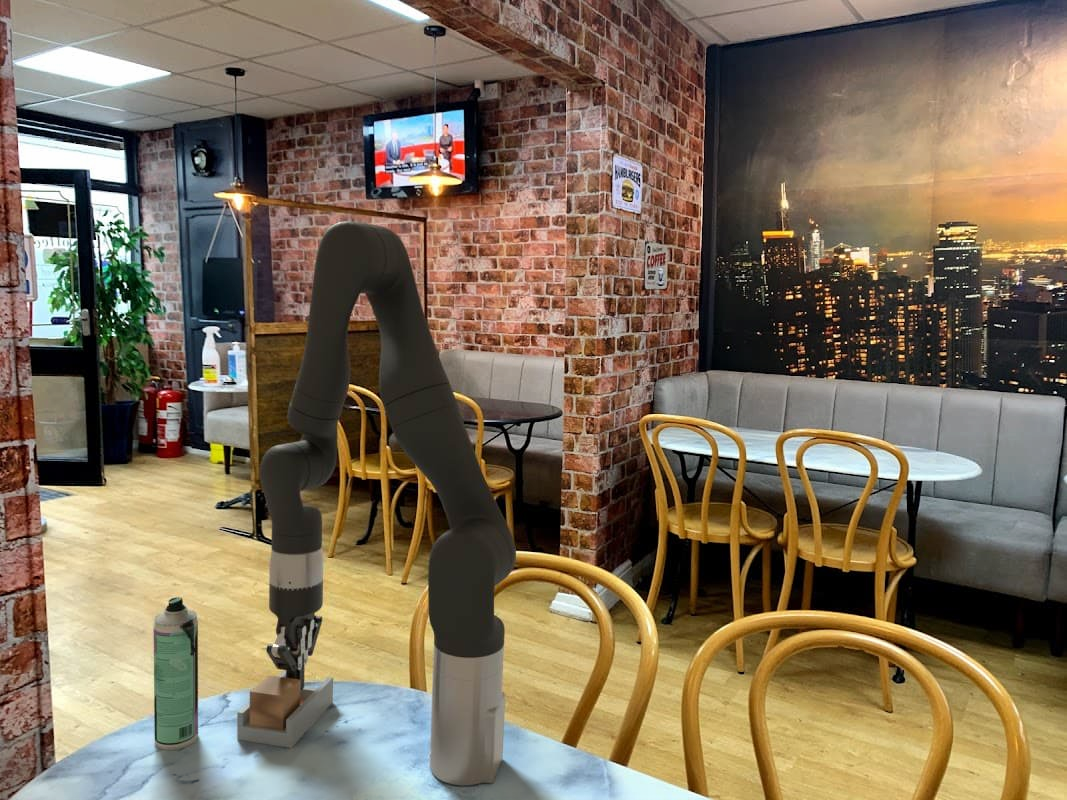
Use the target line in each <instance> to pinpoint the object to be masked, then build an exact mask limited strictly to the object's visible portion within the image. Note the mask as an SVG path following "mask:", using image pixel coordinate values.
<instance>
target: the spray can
mask: <svg viewBox="0 0 1067 800" xmlns="http://www.w3.org/2000/svg"><path fill="white" fill-rule="evenodd" d="M198 627H199V619H198V614H197V612H196V611H194V610H192V609H188V606H187V605H185V604H184V600H183V597H180V596H179V597H172V598H170V599H169V600H168V605H167V606H166V607H165V608H164V611H162V612H161V613H159V614H157V615H156V616H154V622H153V694H154V695H153V697H154V698H153V704H154V705H153V706H154V710H153V712H154V713H153V714H154V721H153V723H154V745H155V746H156V747H157V748H159V749H161V750H165V751H166V750H167V751H173V750H179V749H183V748H185V747H188V746H190V745H192V744H193V743H195V742H196V741H197V740H198V737H199V644H198V643H199V630H198V629H199V628H198Z"/></svg>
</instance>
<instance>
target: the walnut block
mask: <svg viewBox="0 0 1067 800" xmlns="http://www.w3.org/2000/svg"><path fill="white" fill-rule="evenodd" d="M300 691H301V680H299V679H292V678H285V677H278V675H277V676H276V675H269V674H268V675H267V676H266V677H265V678H263V679H262V680H261V681H260V682H259V683H258V684H256V685H255V686H254V687H253V688H252V689H251V690H250V691H249V702H250V726H255V727H261V728H268V729H274V730H281V731H283V730H284V729H285V728H286V719H287V718H288V717H289V716H290V715H291V714H292V713H293V712H294V711H295V710H296V709H297V708H298V707H299V706H300Z"/></svg>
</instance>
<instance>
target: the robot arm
mask: <svg viewBox="0 0 1067 800" xmlns="http://www.w3.org/2000/svg"><path fill="white" fill-rule="evenodd" d="M406 248H407V247H405V244H404V242H403V240H402V239H401V238H400V237H399V235H398V234H397V233H395V231H393V230H391V229H390V228H388V227H385V226H382V225H377V224H370V223H363V222H357V221H352V220H351V221H349V220H347V221H340V222H336V223H335V224H333V225H331V226H329V228H328V229H327V230H325V232H324V234H323V236H322V237H321V239H320V242H319V246H318V249H317V253H316V257H315V264H314V270H313V280H312V289H311V298H310V302H309V303H310V305H309V312H308V323H307V331H306V338H305V344H304V351H303V355H302V360H301V364H300V369H299V372H298V375H297V378H296V382H295V385H294V388H293V392H292V395H291V398H290V402H289V405H288V409H287V415H286V416H287V422H288V424H289V425H290V427H291V428H293V430H295V431H297V432H299V433H301V434H302V435H301V438H300V440H299V441H294V442H289V443H287V442H286V443H282V444H276V445H274V446H271V447H270V448H269V449H268V450H267V451H266V452H265V453H264V455H263V456H262V458H261V462H260V464H259V465H260V467H259V480H260V484H261V487H262V492H263V494H264V495H263V496H264V498H265V502H266V506H267V510H268V513H269V516H270V517H269V518H270V521H271V550H270V558H269V576H268V577H269V580H268V583H269V586H268V587H269V589H268V590H269V592H268V593H269V595H268V607H269V611H270V612H271V613H272V614H273V615H275V616H276V618H277V622H276V627H275V628H276V629H275V634H276V636H277V637H276V639H275V640H274V641H275V642H274V643H273V644H272V643H268V644H267V647H266V651H265V652H266V653H267V655H268V657H269V658H270V660H271V661H272V663H273V665H274V666H275V668H276V669H277V670H283V671H286V678H292V679H299V680H301V690H302V689H303V688H304V686H305V666H306V665H307V664H308V659H309V658H308V657H311V656H313V653H314V651H315V647H316V643H317V640H318V637H319V634H320V631H321V626H322V623H323V617H322V616H320V615H315V614H316V613H318V611H320V610H321V609H322V608H323V606H324V605H323V603H324V598H323V597H324V555H323V516H322V512H321V510H320V509H319V508H318V507H316V506H314V505H311V504H304V503H303V500H302V496H301V492H302V491H305V490H311V489H315V488H319V487H320V486H323V485H324V484H326V483H327V482H328V481H329V479H330V478H331V476H332V475H333V473H334V471H335V468H336V463H337V458H338V457H337V455H338V422H339V420H340V417H341V414H342V411H343V408H344V405H345V401H346V398H347V395H348V392H349V387H350V383H351V382H350V381H351V362H350V361H351V360H350V353H349V344H348V332H349V324H350V321H351V316H352V313H353V310H354V308H355V305H356V303H357V301H358V299H359V297H360V294H362V295H365V296H366V298H367V301H368V302H369V303H368V304H369V305H370V307H371V310H372V313H373V315H374V319H375V321H376V323H377V327H378V330H379V337H380V344H381V345H380V357H379V358H380V360H379V372H378V373H379V376H378V382H379V383H378V386H379V394H380V399H381V402H382V406H383V409H384V411H385V414H386V417H387V419H388V422H389V424H390V427H391V430H392V433H393V435H394V438H395V439H396V441H397V443H398V445H399V447H400V448H401V449H402V450H403V452H404V453H405V455H406V456H407V457H408V458H409V459H410V461H411V462H412V463H413V465H415V467H417V469H418V470H419V471H420V472H421V473H422V474H423V475H424V476H425V478H426V479H427V480H428V482H429V483H430V484H431V486H432V487H433V488H434V490H435V491H436V494H437V496H438V498H439V500H440V501H441V504H442V508H443V510H444V512H445V515H446V520H447V522H448V526H449V528H450V529H449V530H446V532H444V533H442V534H441V535H440V536H439V537H438V538H437V539H436V540H435V542H434V543H433V545H432V547H431V550H430V553H429V554H430V555H429V559H428V567H427V570H428V572H427V573H428V575H427V583H428V584H427V585H428V586H427V591H428V593H427V595H428V619H429V623H430V626H431V629H432V631H433V659H432V662H433V663H432V683H431V684H432V688H431V689H432V691H431V714H430V715H431V717H430V721H431V722H430V746H429V747H430V750H429V769H430V772H431V774H432V775H434V777H435V778H437V779H438V780H439V781H442V782H444V783H446V784H450V785H456V786H472V785H474V786H475V785H479V784H482V783H488V784H493V782H494V781H495V778H496V775H497V774H498V771H499V768H500V766H501V763H502V761H503V758H504V757H503V756H504V734H505V714H506V692H504V691H503V673H504V655H505V654H504V651H505V637H506V634H505V633H506V631H505V625H504V622H503V620H502V619H501V617H499V616H498V615H495V588H496V586H498V585H499V584H500V583H502V582H503V581H504V580H505V579H506V578H507V577H508V576H510V574H511V573H512V572H513V569H514V567H515V564H516V560H517V548H516V543H515V541H514V540H515V539H514V537H513V535H512V532H511V530H510V527H509V525H508V523H507V522H506V519H505V517H504V515H503V514H502V511H501V509H500V506H499V505H498V503H497V501H496V499H495V497H494V495H493V493H492V491H491V488H490V487H489V485H488V483H487V481H486V478H485V476H484V473H483V471H482V468H481V466H480V462H479V459H478V457H477V455H476V451H475V449H474V446H473V444H472V440H471V439H470V435H469V434H468V430H467V428H466V425H465V423H464V420H463V417H462V413H461V411H460V408H459V405H458V402H457V398H456V397H455V393H454V390H453V388H452V386H451V384H450V380H449V378H448V376H447V373H446V371H445V368H444V366H443V364H442V361H441V358H440V355H439V352H438V349H437V346H436V344H435V341H434V338H433V335H432V332H431V330H430V327H429V324H428V321H427V319H426V316H425V312H424V310H423V306H422V302H421V299H420V295H419V292H418V291H419V290H418V287H417V283H416V279H415V275H414V271H413V267H412V264H411V260H410V256H409V254H408V251H407V249H406Z"/></svg>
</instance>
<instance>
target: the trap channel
mask: <svg viewBox="0 0 1067 800" xmlns="http://www.w3.org/2000/svg"><path fill="white" fill-rule="evenodd" d="M277 677H285V678H286V670H283V671H282V672H281V673H279V675H277ZM333 701H334V677H330V676H327V677H326V679H325V680H323V682H321V684H319V686H318V687H314V686H307V685H304V688H303V689H302V690H301V691H300V706H299V707H298V708H297V709H296V710H295V711H294V712H293V713H292V714H291V715H290V716H289V717H288V718H287V719H286V728H285V729H284V730H283V731H281V730H274V729H268V728H261V727H255V726H250V701H249V702H247V703H246V704H245V705H244V706H243V707H242V708H241V709H239V710H238V711H237V713H236V714H237V718H236V719H237V721H236V722H237V723H236V727H237V730H236V731H237V734H236V736H237V737H236V738H237V739H236V740H237V741H244V742H249V743H258V744H263V745H270V746H277V747H284V748H289V749H292V748H293V747H294V746H295V745H296V744H297V743H298V741H299V740H300V739H301V738H302V737H303V736H304V735H305V734H306V733H307V732H308V731H309V729H310V728H311V727H312V726H313V725H314V724H315V723H316V721H318V720H319V718H320V717H321V716H322V715H323V714H324V712H325V711H327V709H328V708H330V706H331V705H332V704H333ZM305 732H306V733H305ZM304 733H305V734H304Z"/></svg>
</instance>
